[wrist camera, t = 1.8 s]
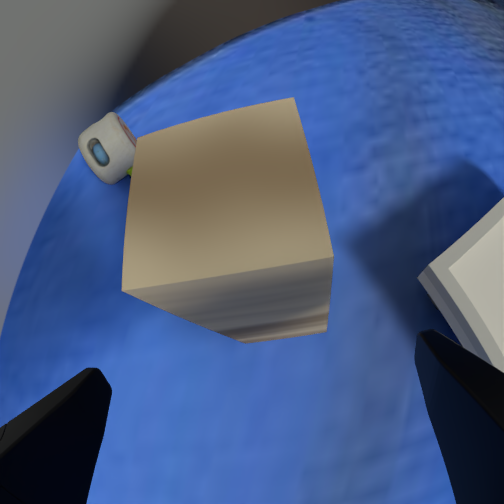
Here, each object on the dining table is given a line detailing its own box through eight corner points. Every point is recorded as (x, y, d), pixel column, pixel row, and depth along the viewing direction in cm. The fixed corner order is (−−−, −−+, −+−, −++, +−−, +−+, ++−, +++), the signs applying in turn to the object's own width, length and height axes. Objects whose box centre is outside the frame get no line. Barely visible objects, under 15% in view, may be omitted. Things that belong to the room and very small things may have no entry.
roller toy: (114, 202, 26) (75, 167, 21) (101, 161, 28) (69, 127, 23) (155, 174, 26) (121, 132, 21) (136, 136, 29) (107, 97, 23)
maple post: (326, 331, 18) (333, 256, 6) (245, 343, 19) (121, 290, 7) (313, 255, 20) (293, 97, 8) (238, 268, 21) (137, 137, 9)
